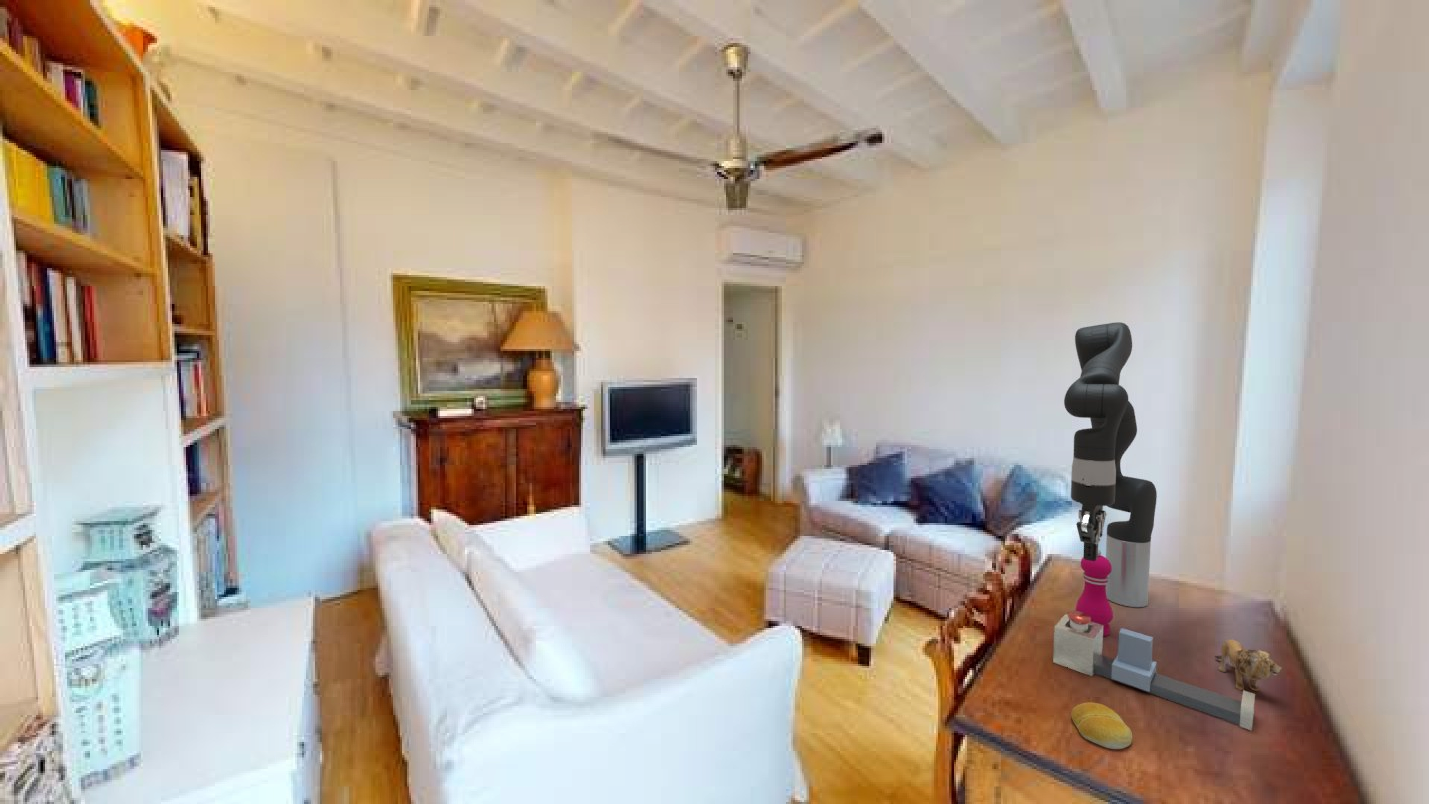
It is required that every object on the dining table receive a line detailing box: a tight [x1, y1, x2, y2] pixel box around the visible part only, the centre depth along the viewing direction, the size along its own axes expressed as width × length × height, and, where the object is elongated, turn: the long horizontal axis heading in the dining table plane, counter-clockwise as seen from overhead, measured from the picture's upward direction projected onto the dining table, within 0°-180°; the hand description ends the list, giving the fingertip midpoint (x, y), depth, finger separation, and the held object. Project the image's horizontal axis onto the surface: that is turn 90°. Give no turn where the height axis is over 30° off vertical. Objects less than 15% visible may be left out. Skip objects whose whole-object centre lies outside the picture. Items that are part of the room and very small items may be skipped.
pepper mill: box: [1075, 548, 1114, 637], centre depth 126 cm, size 7×7×20 cm
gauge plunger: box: [1067, 610, 1091, 633], centre depth 113 cm, size 4×4×6 cm
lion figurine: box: [1214, 638, 1283, 692], centre depth 106 cm, size 15×5×9 cm, turn 166°
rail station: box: [1052, 613, 1256, 732], centre depth 105 cm, size 8×30×8 cm, turn 42°
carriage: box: [1110, 628, 1158, 693], centre depth 106 cm, size 7×6×9 cm
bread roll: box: [1070, 701, 1133, 750], centre depth 93 cm, size 8×9×4 cm
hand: (1090, 559), depth 112 cm, fingers closed
